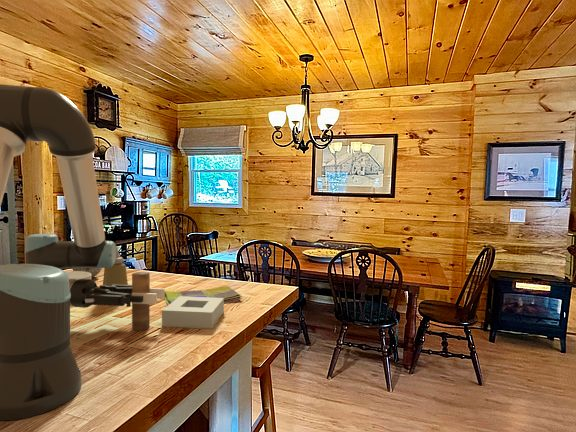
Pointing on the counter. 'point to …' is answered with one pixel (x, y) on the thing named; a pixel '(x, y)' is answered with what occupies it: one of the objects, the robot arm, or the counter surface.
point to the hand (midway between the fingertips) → (160, 296)
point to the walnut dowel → (140, 310)
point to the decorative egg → (89, 270)
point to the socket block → (193, 312)
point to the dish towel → (205, 294)
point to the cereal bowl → (78, 275)
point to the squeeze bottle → (116, 272)
